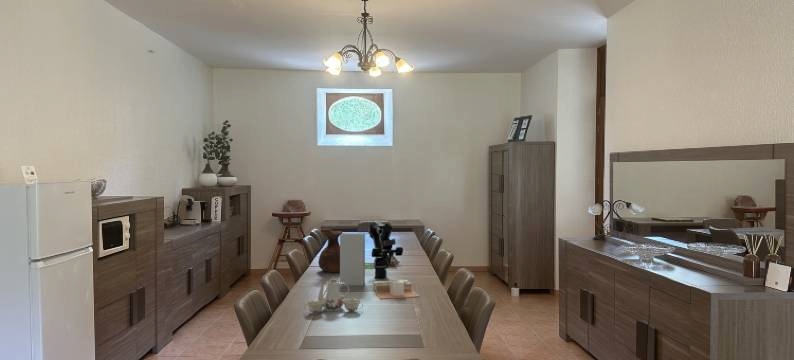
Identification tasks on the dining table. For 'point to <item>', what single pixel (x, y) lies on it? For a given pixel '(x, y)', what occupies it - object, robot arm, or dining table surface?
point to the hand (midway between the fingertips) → (389, 263)
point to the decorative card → (390, 266)
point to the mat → (389, 296)
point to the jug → (331, 252)
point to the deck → (388, 286)
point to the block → (397, 287)
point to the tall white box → (352, 259)
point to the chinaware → (332, 299)
